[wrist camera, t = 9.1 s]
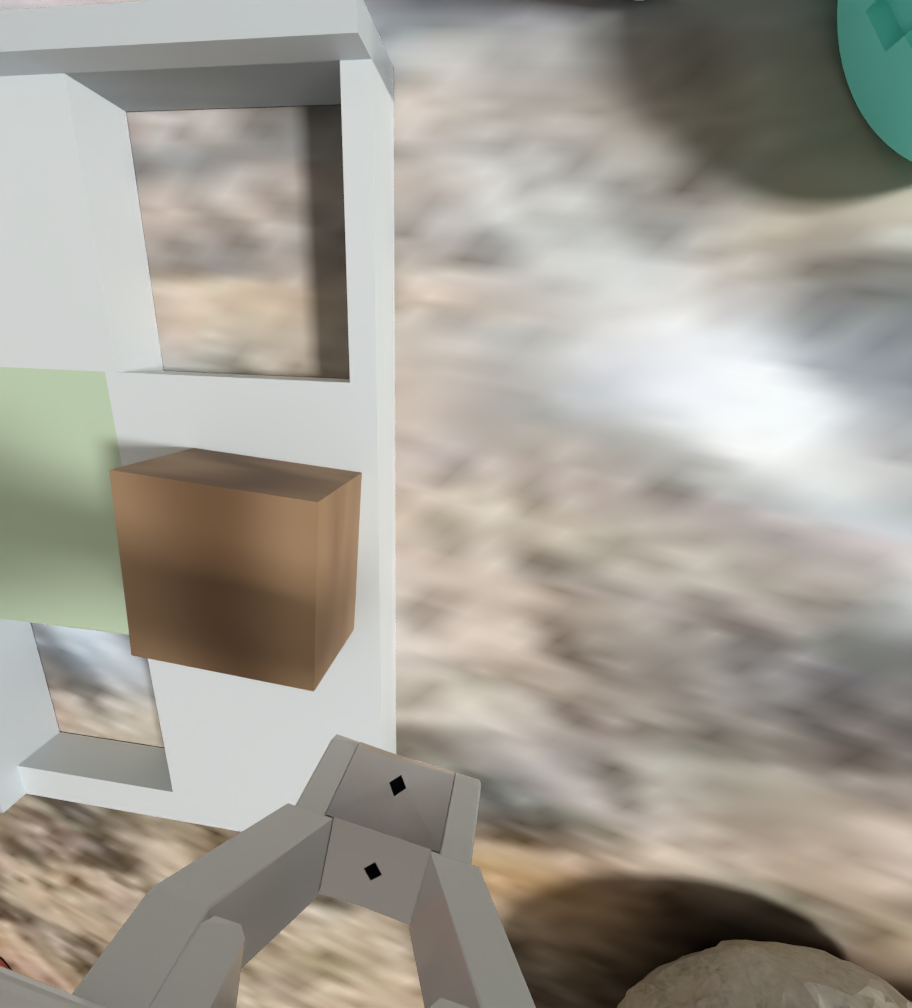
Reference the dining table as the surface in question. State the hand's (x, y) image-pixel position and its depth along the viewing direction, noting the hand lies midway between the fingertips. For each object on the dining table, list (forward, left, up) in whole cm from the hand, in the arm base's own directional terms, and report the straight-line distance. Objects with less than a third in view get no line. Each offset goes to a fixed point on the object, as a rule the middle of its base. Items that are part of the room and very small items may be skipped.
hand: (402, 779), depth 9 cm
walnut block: (-8, 0, -10) cm, 13 cm away
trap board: (-15, +1, -12) cm, 19 cm away
